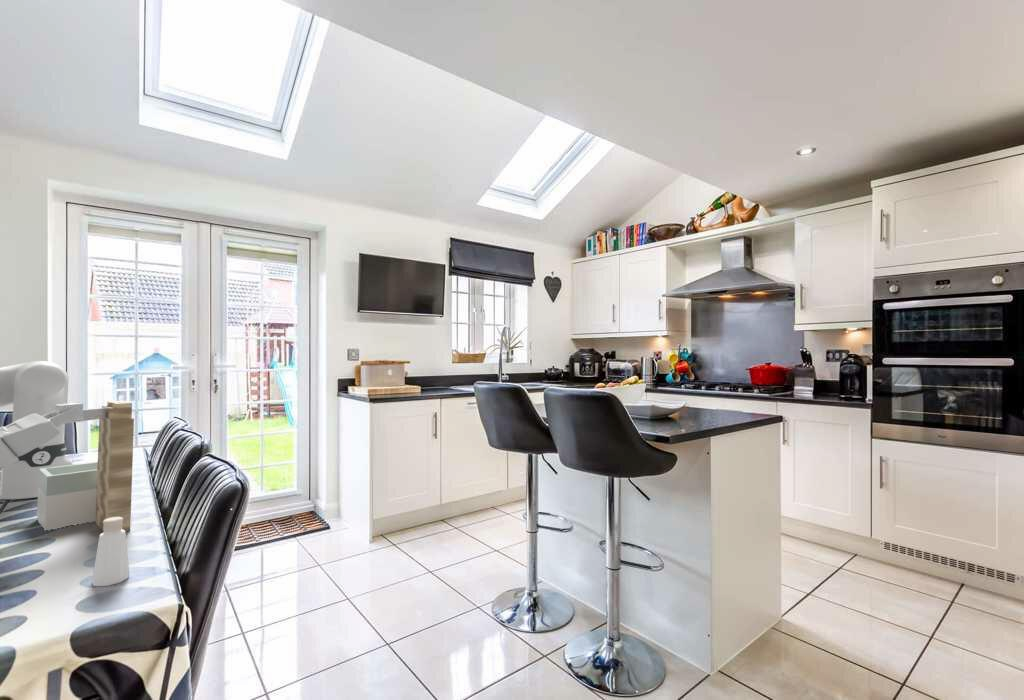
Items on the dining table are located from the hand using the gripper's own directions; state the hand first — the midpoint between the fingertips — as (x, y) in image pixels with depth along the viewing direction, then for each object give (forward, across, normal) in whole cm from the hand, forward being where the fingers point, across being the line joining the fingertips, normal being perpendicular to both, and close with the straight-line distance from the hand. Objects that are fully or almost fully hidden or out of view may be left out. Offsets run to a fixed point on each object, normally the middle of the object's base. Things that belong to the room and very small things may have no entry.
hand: (72, 410), depth 106 cm
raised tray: (-10, -14, -27) cm, 32 cm away
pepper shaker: (-14, +34, -25) cm, 44 cm away
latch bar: (+1, 0, -4) cm, 4 cm away
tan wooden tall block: (-7, 0, -28) cm, 29 cm away
